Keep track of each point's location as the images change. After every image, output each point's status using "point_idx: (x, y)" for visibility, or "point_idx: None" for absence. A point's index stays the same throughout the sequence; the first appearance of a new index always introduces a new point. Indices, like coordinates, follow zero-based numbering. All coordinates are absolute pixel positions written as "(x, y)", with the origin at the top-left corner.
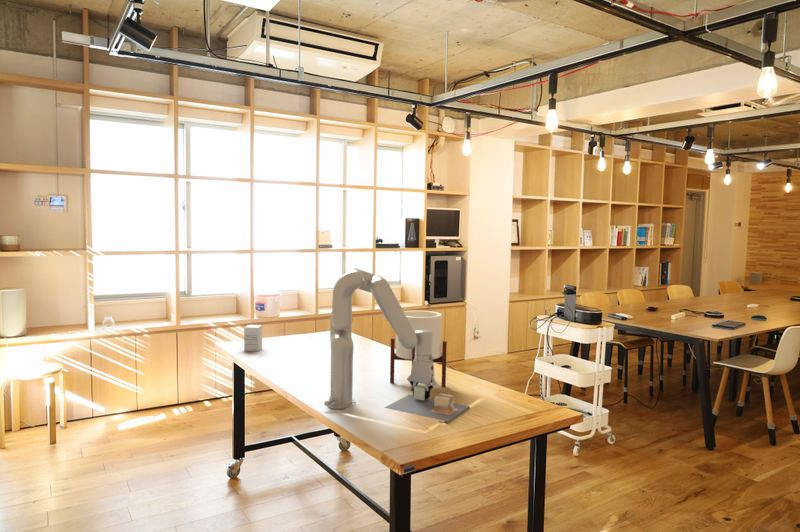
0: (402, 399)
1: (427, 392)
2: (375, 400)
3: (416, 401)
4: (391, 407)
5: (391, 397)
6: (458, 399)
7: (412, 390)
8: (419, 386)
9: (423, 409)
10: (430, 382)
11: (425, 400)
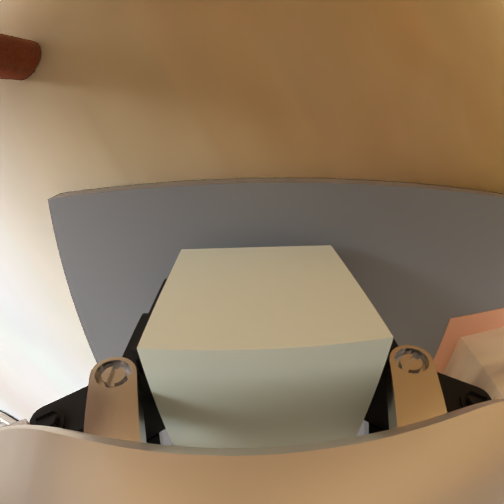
0: (109, 357)
1: None
2: (19, 377)
3: None
4: None
5: (8, 296)
6: (493, 31)
7: (11, 77)
8: (219, 426)
9: (361, 425)
10: (460, 416)
11: None
